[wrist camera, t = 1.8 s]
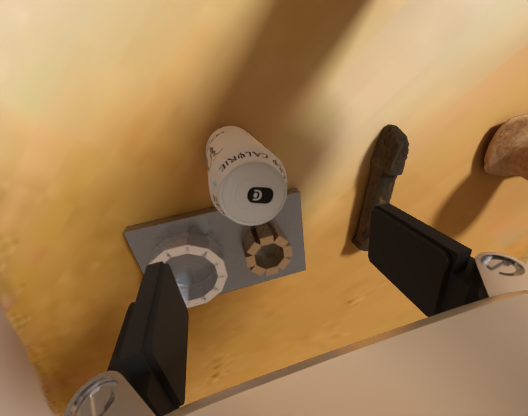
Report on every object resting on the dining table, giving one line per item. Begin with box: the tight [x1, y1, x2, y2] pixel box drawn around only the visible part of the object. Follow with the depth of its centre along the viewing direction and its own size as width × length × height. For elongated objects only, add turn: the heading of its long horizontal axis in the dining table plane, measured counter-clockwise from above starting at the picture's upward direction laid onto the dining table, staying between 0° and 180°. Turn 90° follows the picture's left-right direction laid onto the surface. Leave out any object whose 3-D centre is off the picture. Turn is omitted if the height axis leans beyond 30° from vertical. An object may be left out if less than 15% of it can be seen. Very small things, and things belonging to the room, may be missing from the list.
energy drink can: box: [206, 126, 288, 226], centre depth 23 cm, size 6×6×15 cm
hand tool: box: [352, 125, 409, 251], centre depth 36 cm, size 19×4×5 cm, turn 176°
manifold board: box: [123, 188, 306, 308], centre depth 34 cm, size 23×14×4 cm, turn 98°
